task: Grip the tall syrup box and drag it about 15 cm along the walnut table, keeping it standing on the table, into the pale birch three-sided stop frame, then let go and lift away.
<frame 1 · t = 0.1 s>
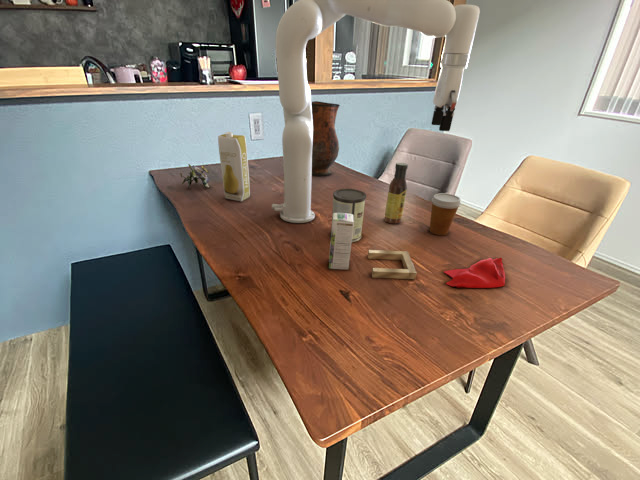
hand: (440, 127, 115), 31 cm above the table, tool pointing down, fingers open, 9 cm apart
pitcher: (316, 174, 178), on the table
syrup box: (338, 265, 106), on the table
coffee can: (345, 236, 121), on the table
disposable coffee cup: (438, 232, 128), on the table
sauce bottle: (392, 221, 134), on the table
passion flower: (197, 188, 153), on the table
stop frame: (386, 266, 106), on the table
cloth: (482, 276, 104), on the table
juice carton: (237, 198, 146), on the table
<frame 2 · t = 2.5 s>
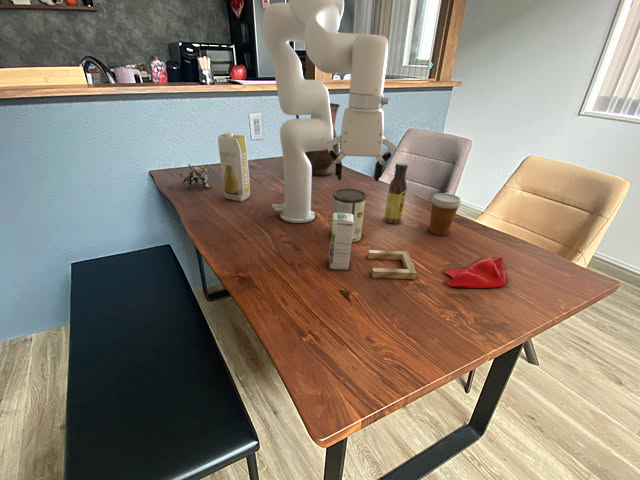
hand: (357, 179, 94), 23 cm above the table, tool pointing down, fingers open, 9 cm apart
nothing on the table moved.
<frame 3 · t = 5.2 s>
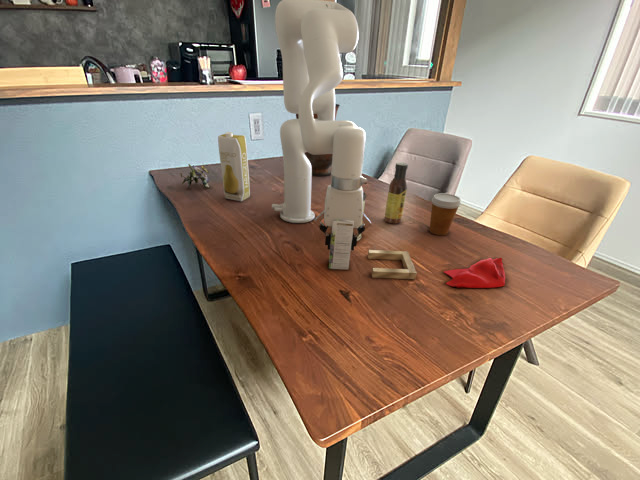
hand: (340, 247, 102), 6 cm above the table, tool pointing down, fingers closed on syrup box, 5 cm apart
syrup box: (338, 265, 106), on the table, touching gripper
everything else where it was.
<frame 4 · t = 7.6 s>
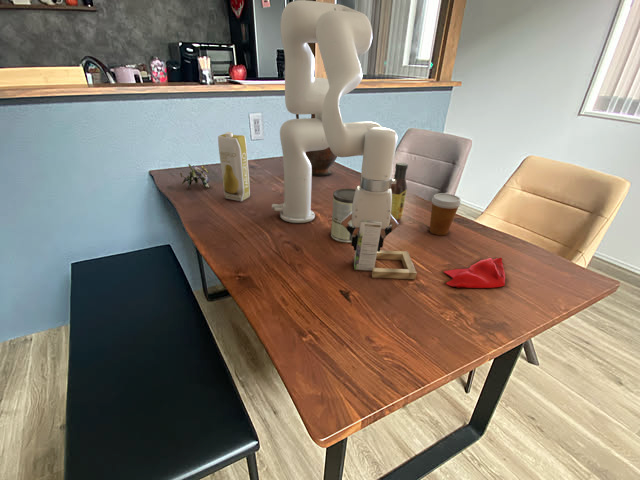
hand: (366, 248, 102), 6 cm above the table, tool pointing down, fingers closed on syrup box, 5 cm apart
syrup box: (364, 266, 106), on the table, touching gripper
everything else where it was.
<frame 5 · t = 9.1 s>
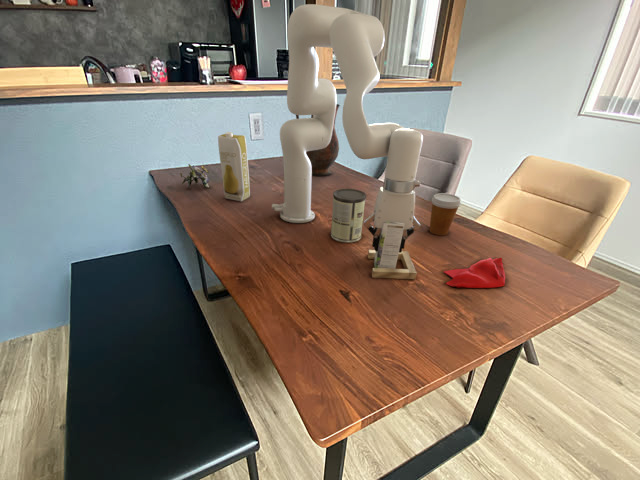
hand: (387, 249, 102), 6 cm above the table, tool pointing down, fingers closed on syrup box, 5 cm apart
syrup box: (384, 267, 106), on the table, touching gripper
everything else where it was.
when the fingers open (6 cm above the table, at t = 10.0 s): syrup box stays where it is, on the table.
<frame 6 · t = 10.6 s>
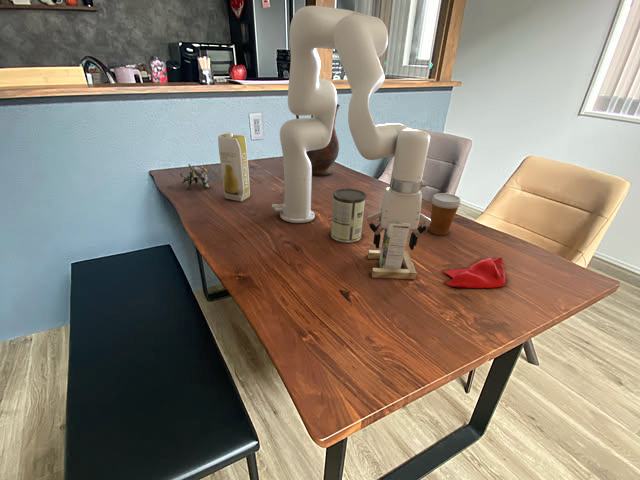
hand: (393, 247, 102), 6 cm above the table, tool pointing down, fingers open, 9 cm apart
syrup box: (389, 267, 106), on the table
everything else where it was.
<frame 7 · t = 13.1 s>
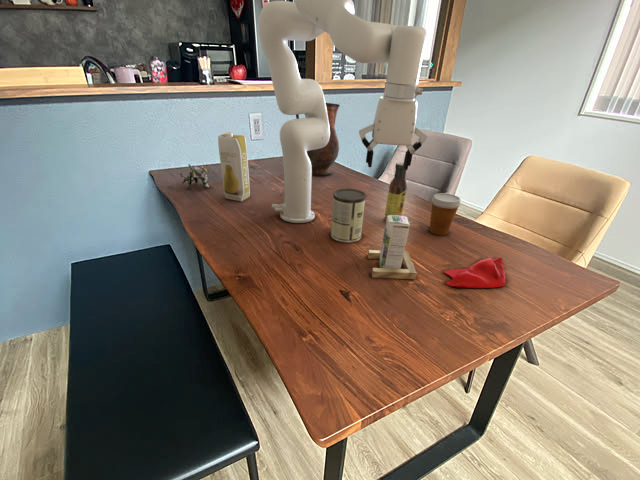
hand: (387, 167, 97), 25 cm above the table, tool pointing down, fingers open, 9 cm apart
nothing on the table moved.
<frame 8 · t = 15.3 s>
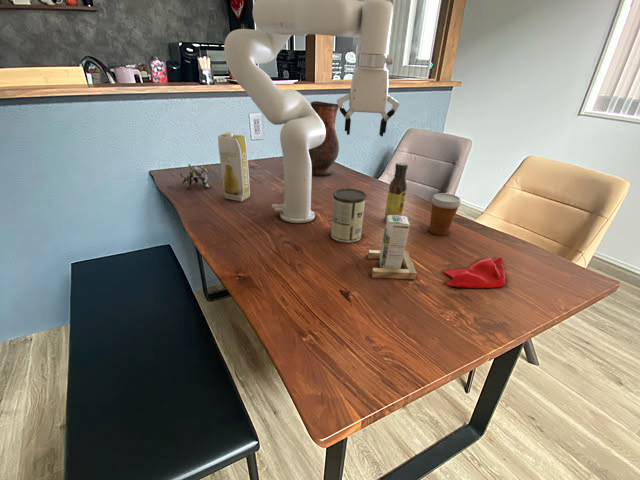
hand: (364, 134, 105), 30 cm above the table, tool pointing down, fingers open, 9 cm apart
nothing on the table moved.
at the end: syrup box inside the target area on the stop frame (0.1 cm from its centre), point 0.0 cm above the stop frame's base; syrup box tilted 0°; the gripper is holding nothing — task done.
